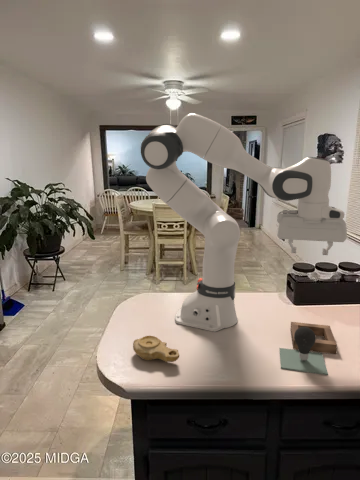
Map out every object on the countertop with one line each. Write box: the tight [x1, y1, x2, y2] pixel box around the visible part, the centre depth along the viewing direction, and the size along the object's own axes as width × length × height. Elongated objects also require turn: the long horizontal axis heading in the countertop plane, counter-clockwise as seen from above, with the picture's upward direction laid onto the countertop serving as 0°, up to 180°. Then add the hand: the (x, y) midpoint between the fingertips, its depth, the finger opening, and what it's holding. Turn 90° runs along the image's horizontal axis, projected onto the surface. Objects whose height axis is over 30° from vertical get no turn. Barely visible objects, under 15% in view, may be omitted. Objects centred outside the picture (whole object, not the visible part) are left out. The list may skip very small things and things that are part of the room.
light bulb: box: [294, 327, 317, 361], centre depth 91 cm, size 6×6×10 cm
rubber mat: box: [279, 347, 329, 376], centre depth 93 cm, size 12×10×1 cm
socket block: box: [289, 321, 338, 355], centre depth 103 cm, size 12×12×3 cm
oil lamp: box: [132, 335, 180, 363], centre depth 95 cm, size 11×14×5 cm
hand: (309, 253), depth 105 cm, fingers open, 8 cm apart
